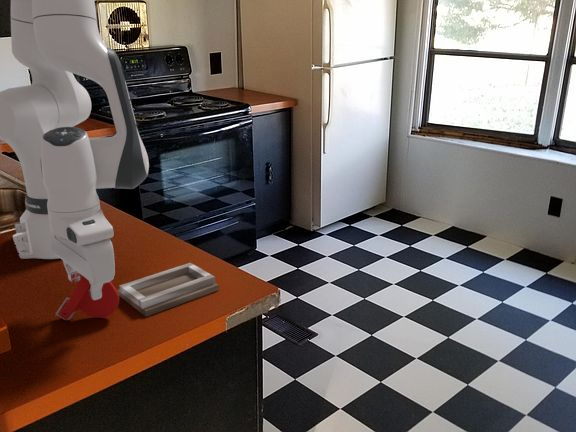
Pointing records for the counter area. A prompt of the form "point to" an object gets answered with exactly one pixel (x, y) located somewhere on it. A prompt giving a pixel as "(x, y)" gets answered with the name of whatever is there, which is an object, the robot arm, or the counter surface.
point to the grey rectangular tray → (168, 289)
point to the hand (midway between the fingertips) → (85, 289)
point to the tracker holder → (90, 301)
